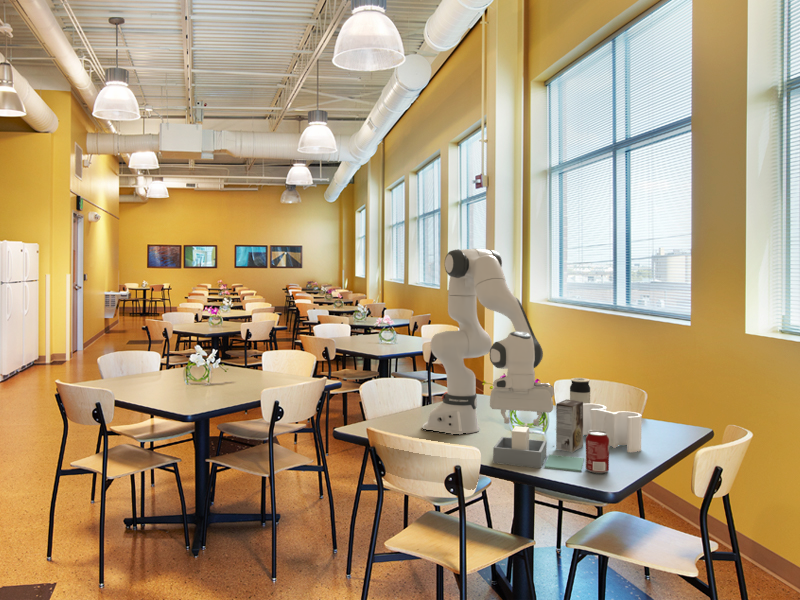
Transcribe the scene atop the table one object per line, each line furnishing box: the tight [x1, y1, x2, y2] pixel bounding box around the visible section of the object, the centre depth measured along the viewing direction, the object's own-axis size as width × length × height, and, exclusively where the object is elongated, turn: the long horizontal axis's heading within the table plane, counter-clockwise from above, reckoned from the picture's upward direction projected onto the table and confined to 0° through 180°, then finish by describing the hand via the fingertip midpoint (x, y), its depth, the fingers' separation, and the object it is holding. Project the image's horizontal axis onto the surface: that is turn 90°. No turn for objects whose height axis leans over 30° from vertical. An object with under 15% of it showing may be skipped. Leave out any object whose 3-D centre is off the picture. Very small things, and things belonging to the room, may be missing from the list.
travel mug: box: [569, 377, 591, 404], centre depth 242 cm, size 8×8×18 cm
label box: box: [511, 425, 530, 450], centre depth 193 cm, size 5×7×10 cm, turn 159°
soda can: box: [585, 430, 610, 475], centre depth 181 cm, size 7×7×12 cm
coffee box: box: [555, 399, 584, 453], centre depth 206 cm, size 9×6×16 cm
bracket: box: [583, 403, 643, 453], centre depth 213 cm, size 25×10×12 cm, turn 33°
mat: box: [544, 454, 585, 473], centre depth 189 cm, size 11×13×1 cm
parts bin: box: [492, 436, 547, 469], centre depth 194 cm, size 15×14×5 cm
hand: (521, 424), depth 193 cm, fingers open, 8 cm apart
